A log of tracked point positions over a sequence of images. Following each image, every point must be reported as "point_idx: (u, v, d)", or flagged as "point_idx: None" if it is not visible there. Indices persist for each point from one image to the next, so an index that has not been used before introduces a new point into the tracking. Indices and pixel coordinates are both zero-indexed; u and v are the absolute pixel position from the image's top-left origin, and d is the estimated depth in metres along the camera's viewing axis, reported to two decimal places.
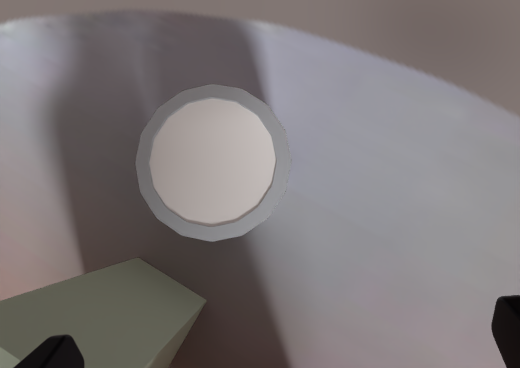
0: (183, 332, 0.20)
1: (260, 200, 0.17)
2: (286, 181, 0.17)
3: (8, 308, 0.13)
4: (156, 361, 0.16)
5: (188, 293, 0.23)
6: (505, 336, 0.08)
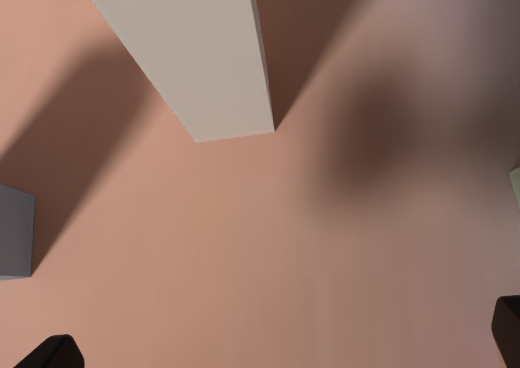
0: None
1: None
2: None
3: None
4: None
5: None
6: (505, 336, 0.08)
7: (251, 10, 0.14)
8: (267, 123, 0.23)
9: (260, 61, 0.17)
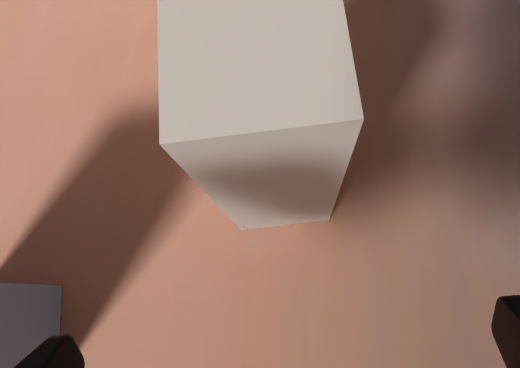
0: None
1: None
2: None
3: None
4: None
5: None
6: (505, 336, 0.08)
7: (351, 151, 0.11)
8: (324, 216, 0.20)
9: (341, 181, 0.14)
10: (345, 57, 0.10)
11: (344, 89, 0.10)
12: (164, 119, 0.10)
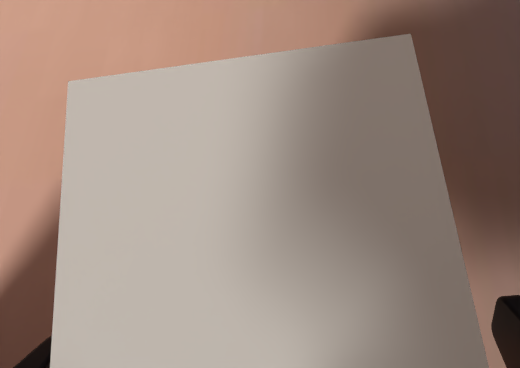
0: None
1: None
2: None
3: None
4: None
5: None
6: (505, 336, 0.08)
7: None
8: None
9: None
10: (451, 276, 0.04)
11: (454, 360, 0.04)
12: None
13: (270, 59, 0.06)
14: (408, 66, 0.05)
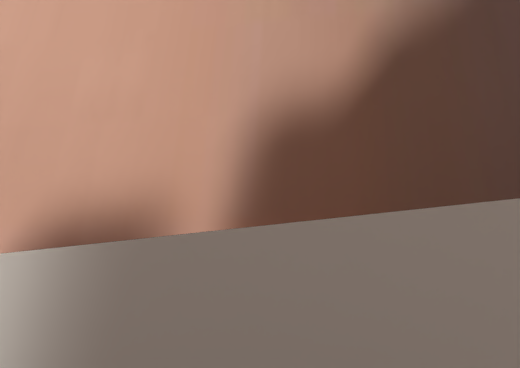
0: None
1: None
2: None
3: None
4: None
5: None
6: None
7: None
8: None
9: None
10: None
11: None
12: None
13: (256, 246, 0.02)
14: None
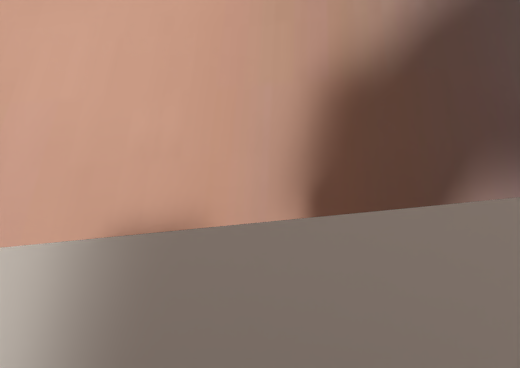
0: None
1: None
2: None
3: None
4: None
5: None
6: None
7: None
8: None
9: None
10: None
11: None
12: None
13: (276, 239, 0.02)
14: None
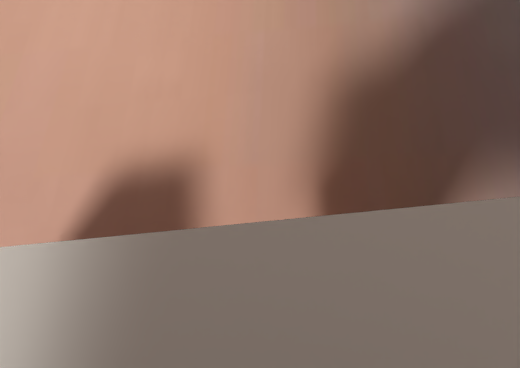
0: None
1: None
2: None
3: None
4: None
5: None
6: None
7: None
8: None
9: None
10: None
11: None
12: None
13: (275, 239, 0.02)
14: None
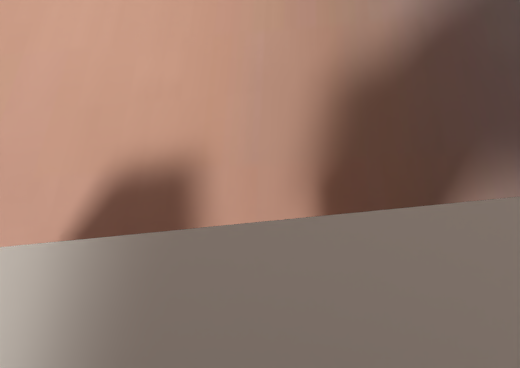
0: None
1: None
2: None
3: None
4: None
5: None
6: None
7: None
8: None
9: None
10: None
11: None
12: None
13: (275, 239, 0.02)
14: None
